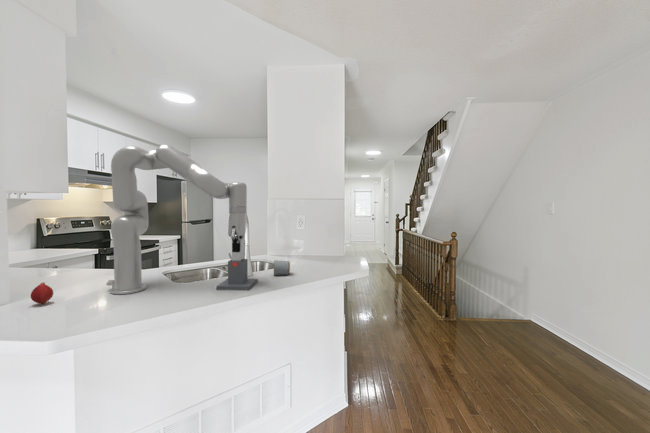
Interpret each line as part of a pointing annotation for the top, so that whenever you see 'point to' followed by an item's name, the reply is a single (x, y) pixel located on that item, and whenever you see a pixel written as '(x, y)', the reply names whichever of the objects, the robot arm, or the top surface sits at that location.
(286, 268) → the ceramic mug
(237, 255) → the column
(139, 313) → the top surface
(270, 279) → the top surface
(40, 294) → the onion
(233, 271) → the stand
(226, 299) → the top surface
